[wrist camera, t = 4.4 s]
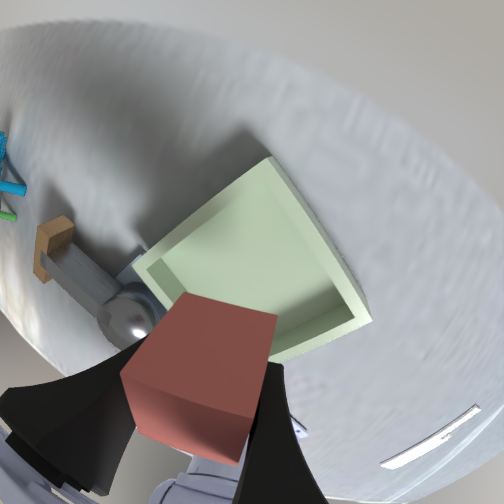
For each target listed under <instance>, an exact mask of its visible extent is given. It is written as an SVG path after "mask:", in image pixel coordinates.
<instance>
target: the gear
mask: <svg viewBox="0 0 504 504" xmlns="http://www.w3.org/2000/svg"><path fill="white" fill-rule="evenodd" d="M4 135H5V133H4V132H1V131H0V165H1V163H2V161H3V159H4V157H5V153H6V149H4V147H5V144H6V142H7V138H6V137H4ZM1 171H2V167H0V210H1V197H2V191H5V192H9V193H13V194H17V195H20V196H24V195H25V192H26V187H27V186H23V185H19V184H16V183H12V182H8V181H4V180H3V177H2V176H1ZM0 218H3V219H7V220H11V221H15V220H16V215H15V214H11V213H7V212H3V211H0Z"/></svg>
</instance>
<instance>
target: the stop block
mask: <svg viewBox="0 0 504 504" xmlns="http://www.w3.org/2000/svg"><path fill="white" fill-rule="evenodd" d="M277 317H278V315H275V314H271V313H267V312H262V311H258V310H254V309H250V308H246V307H241V306H237V305H233V304H229V303H226V302H222V301H218V300H214V299H210V298H206V297H203V296H199V295H195V294H192V293H188V292H183V293H182V294H181V296H180V297H179V298H178V299H177V300H176V302H175V303H174V304H173V305H172V307H171V308H170V309H169V310H168V312H167V313H166V314H165V315H164V317H163V318H162V319H161V320H160V322H159V323H158V324H157V325H156V327H155V328H154V329H153V331H152V332H151V333H150V334H149V336H148V337H147V338H146V339H145V341H144V342H143V343H142V345H141V346H140V347H139V348H138V350H137V351H136V352H135V354H134V355H133V356H132V357H131V359H130V360H129V361H128V363H127V364H126V365H125V367H124V368H123V369H122V370H121V372H120V376H121V379H122V383H123V386H124V390H125V393H126V396H127V400H128V403H129V406H130V409H131V412H132V415H133V418H134V421H135V423H136V426H137V429H138V432H139V433H140V434H142V435H144V436H146V437H149V438H151V439H153V440H156V441H159V442H161V443H163V444H166V445H168V446H171V447H174V448H176V449H179V450H182V451H185V452H188V453H191V454H194V455H197V456H200V457H203V458H207V459H210V460H213V461H217V462H221V463H224V464H228V465H232V466H236V467H237V466H238V463H239V460H240V457H241V455H242V452H243V449H244V446H245V443H246V440H247V437H248V435H249V432H250V429H251V426H252V423H253V420H254V416H255V412H256V408H257V404H258V400H259V396H260V392H261V388H262V384H263V380H264V375H265V371H266V367H267V362H268V358H269V354H270V349H271V345H272V340H273V336H274V331H275V327H276V322H277Z"/></svg>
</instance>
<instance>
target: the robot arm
mask: <svg viewBox="0 0 504 504" xmlns="http://www.w3.org/2000/svg"><path fill="white" fill-rule="evenodd" d="M149 334H150V333H149ZM149 334H148V335H146V336H145V337H143V338H141V339H140V340H138V341H137V342H135V343H134V344H132V345H131V346H129V347H127V348H126V349H124V350H122V351H121V352H119V353H118V354H116V355H114V356H112V357H111V358H109V359H107V360H105V361H103V362H101V363H99V364H98V365H96V366H93V367H91V368H89V369H87V370H85V371H82V372H80V373H77V374H75V375H72V376H69V377H66V378H63V379H59V380H57V381H52V382H48V383H44V384H39V385H33V386H25V387H14V388H8V389H7V390H6V391H5V392H4V393H3V394H2V396H1V397H0V417H1V418H2V419H3V420H4V422H5V423H6V424H7V425H8V426H9V427H10V429H11V430H12V432H11V434H10V435H9V434H8V433H7V432H6V431H5V430H4V429H3V428H2V427H1V426H0V499H1V501H2V502H3V503H4V504H69V503H67V502H66V501H64V500H63V499H61V498H60V497H58V496H57V495H55V494H54V493H52V491H51V487H52V488H53V489H55V490H56V491H58V492H59V493H60V494H62V495H63V496H64V497H66V498H67V499H69V500H70V501H72V502H73V503H75V504H98V503H97V502H95V501H93V500H91V499H90V498H88V497H87V496H85V495H84V494H82V493H80V491H81V489H83V490H84V491H86V492H88V493H89V492H90V490H91V491H93V492H94V493H96V494H98V495H99V496H107V495H109V491H110V488H111V485H112V482H113V479H114V476H115V473H116V470H117V468H118V465H119V463H120V460H121V458H122V455H123V453H124V451H125V448H126V446H127V444H128V442H129V440H130V438H131V435H132V433H133V431H134V429H135V427H136V423H135V421H134V418H133V415H132V412H131V409H130V406H129V403H128V400H127V396H126V393H125V390H124V386H123V383H122V379H121V376H120V372H121V370H122V369H123V368H124V367H125V365H126V364H127V363H128V361H129V360H130V359H131V357H132V356H133V355H134V354H135V352H136V351H137V350H138V348H139V347H140V346H141V345H142V343H143V342H144V341H145V339H146V338H147V337H148V336H149ZM307 436H308V432H307V431H306V430H305V429H304V428H303V427H302V426H300V425H299V424H298V423H297V422H296V421H295V420H294V419H293V418H291V416H290V412H289V408H288V403H287V398H286V392H285V384H284V366H283V365H282V364H279V363H275V362H270V361H268V362H267V367H266V371H265V375H264V380H263V384H262V388H261V392H260V396H259V400H258V404H257V408H256V412H255V416H254V420H253V423H252V426H251V429H250V432H249V435H248V437H247V440H246V443H245V446H244V449H243V452H242V455H241V457H240V460H239V463H238V466H237V467H236V466H232V465H228V464H224V463H221V462H217V461H213V460H210V459H207V458H203V457H200V456H197V455H193V458H192V461H191V463H190V465H189V467H188V470H187V472H186V474H185V473H182V472H180V473H179V475H178V477H177V479H168V480H166V481H165V482H163V483H161V484H159V485H158V486H157V487H156V488H155V490H154V491H153V493H152V494H151V496H150V498H149V500H148V503H147V504H329V503H328V502H327V500H326V498H325V497H324V495H323V494H322V492H321V490H320V488H319V487H318V485H317V483H316V481H315V479H314V477H313V475H312V473H311V471H310V469H309V467H308V465H307V463H306V461H305V458H304V456H303V454H302V451H301V448H300V446H299V445H300V438H304V437H307ZM50 486H51V487H50Z"/></svg>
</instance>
